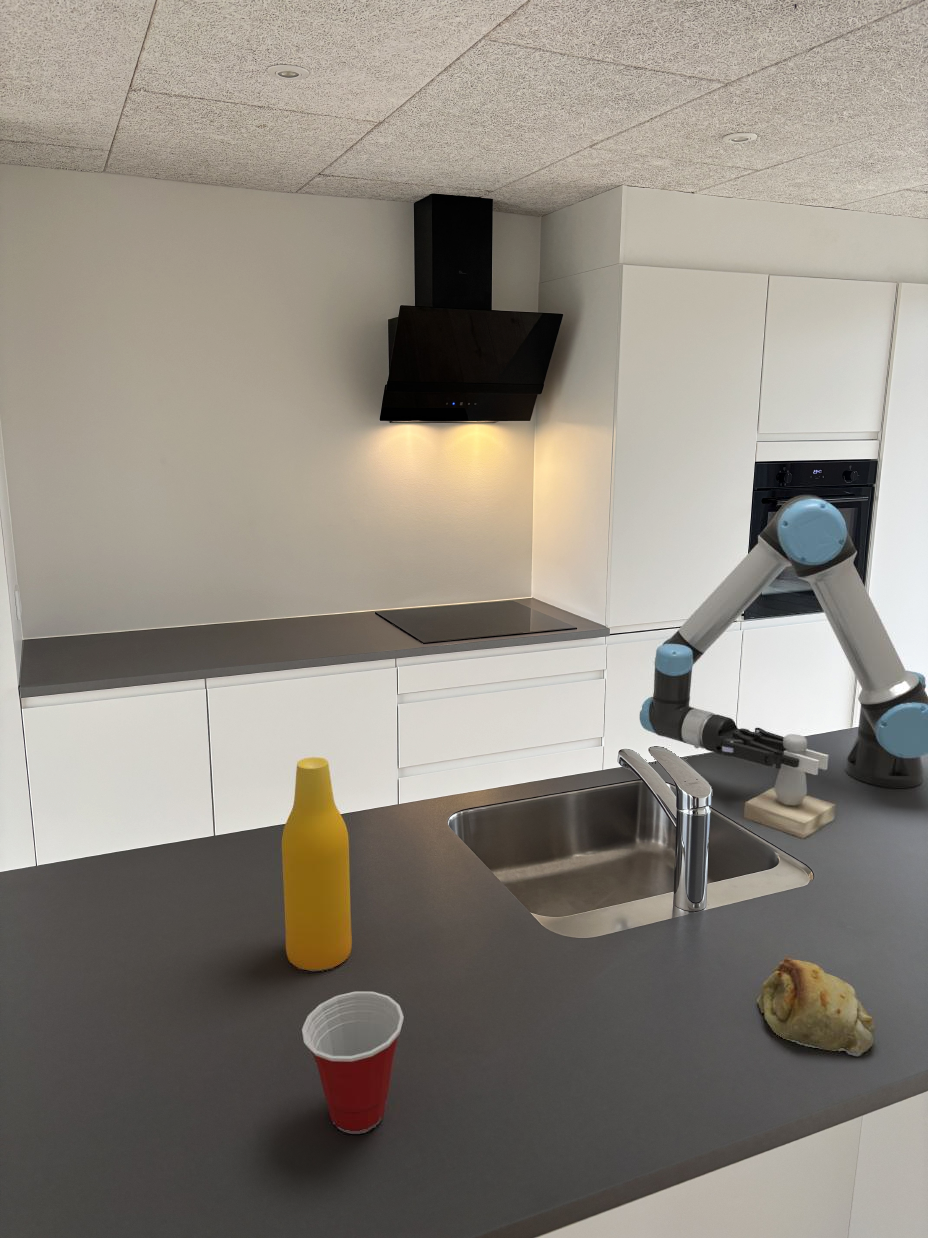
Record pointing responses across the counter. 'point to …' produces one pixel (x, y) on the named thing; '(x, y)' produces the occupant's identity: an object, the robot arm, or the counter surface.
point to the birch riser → (789, 813)
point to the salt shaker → (792, 774)
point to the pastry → (815, 1008)
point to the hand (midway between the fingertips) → (821, 765)
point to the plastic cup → (354, 1054)
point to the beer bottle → (316, 873)
